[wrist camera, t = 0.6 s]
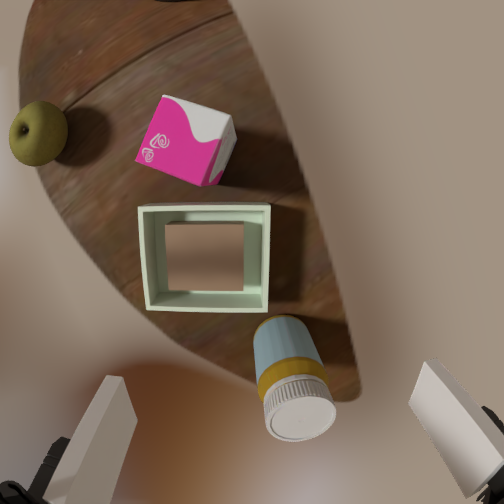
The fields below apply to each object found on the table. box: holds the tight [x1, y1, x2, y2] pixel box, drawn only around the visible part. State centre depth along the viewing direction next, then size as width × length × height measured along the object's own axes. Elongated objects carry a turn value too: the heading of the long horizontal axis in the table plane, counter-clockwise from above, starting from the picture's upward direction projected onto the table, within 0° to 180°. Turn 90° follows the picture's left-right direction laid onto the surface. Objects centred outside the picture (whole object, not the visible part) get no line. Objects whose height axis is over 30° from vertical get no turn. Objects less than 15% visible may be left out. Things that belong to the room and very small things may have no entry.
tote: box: [138, 202, 271, 312], centre depth 31 cm, size 11×13×4 cm
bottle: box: [254, 315, 336, 442], centre depth 29 cm, size 7×7×15 cm
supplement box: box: [136, 95, 237, 186], centre depth 25 cm, size 6×6×12 cm
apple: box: [9, 101, 68, 166], centre depth 25 cm, size 8×8×7 cm
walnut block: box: [165, 220, 244, 291], centre depth 31 cm, size 7×8×3 cm
